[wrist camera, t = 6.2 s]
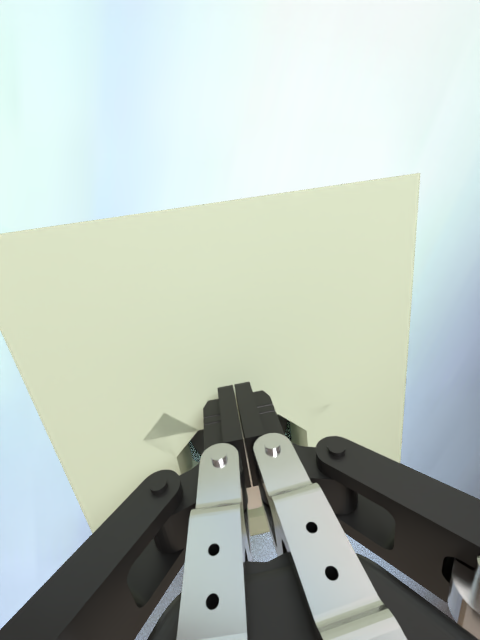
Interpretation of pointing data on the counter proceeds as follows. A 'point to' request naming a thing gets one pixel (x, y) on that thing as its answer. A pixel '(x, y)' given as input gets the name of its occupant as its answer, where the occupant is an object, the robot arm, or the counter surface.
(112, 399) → the board
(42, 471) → the counter surface
